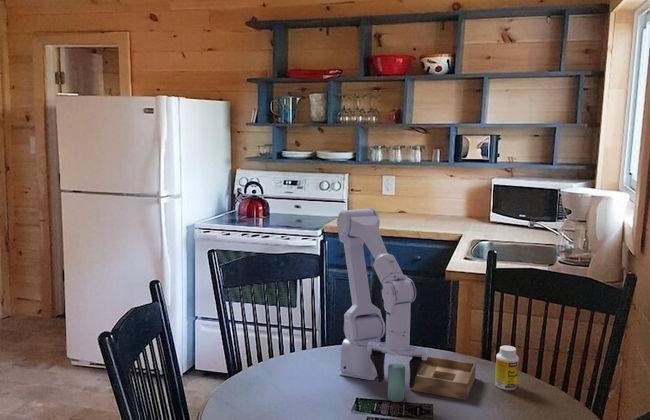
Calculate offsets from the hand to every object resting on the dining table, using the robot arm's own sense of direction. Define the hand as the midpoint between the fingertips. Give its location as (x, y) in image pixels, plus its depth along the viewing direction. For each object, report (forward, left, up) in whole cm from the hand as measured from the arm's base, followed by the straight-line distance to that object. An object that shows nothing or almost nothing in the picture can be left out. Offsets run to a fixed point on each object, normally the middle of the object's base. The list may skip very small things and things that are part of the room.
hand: (396, 383), depth 144 cm
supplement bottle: (+24, +18, -4) cm, 30 cm away
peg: (0, 0, -4) cm, 4 cm away
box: (+9, +13, -4) cm, 16 cm away
